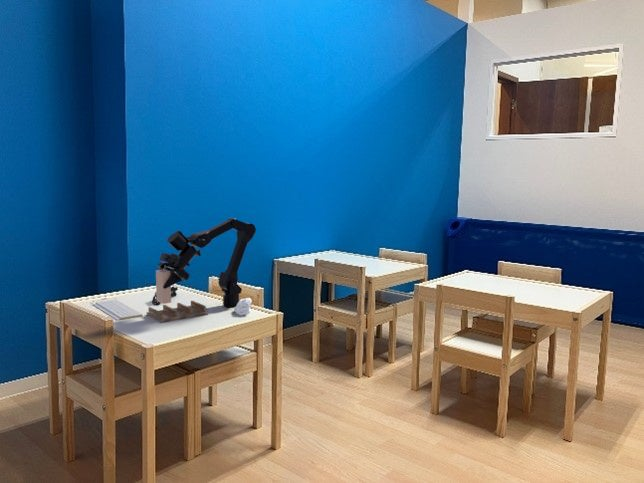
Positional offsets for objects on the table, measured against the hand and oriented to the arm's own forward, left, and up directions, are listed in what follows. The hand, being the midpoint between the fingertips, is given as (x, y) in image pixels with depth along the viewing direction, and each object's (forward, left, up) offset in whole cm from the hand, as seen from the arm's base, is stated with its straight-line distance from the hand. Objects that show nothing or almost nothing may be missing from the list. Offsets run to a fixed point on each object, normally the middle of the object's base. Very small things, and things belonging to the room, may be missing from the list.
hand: (160, 286), depth 224 cm
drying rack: (-7, -4, -13) cm, 16 cm away
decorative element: (-5, -33, -14) cm, 36 cm away
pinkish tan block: (-1, -1, -7) cm, 7 cm away
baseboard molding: (+18, -18, -14) cm, 29 cm away
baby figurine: (-35, 0, -14) cm, 37 cm away
